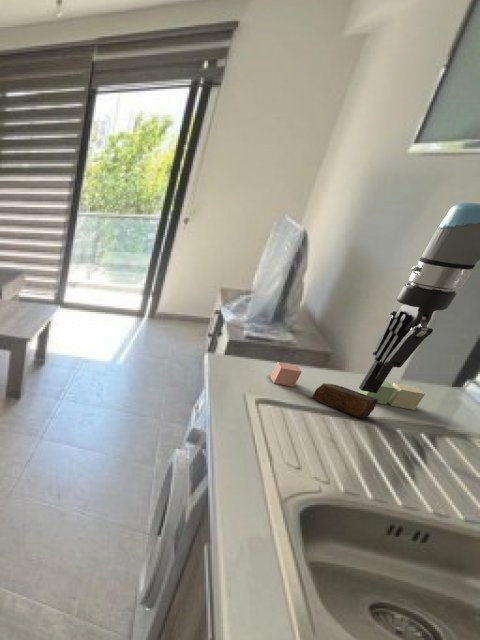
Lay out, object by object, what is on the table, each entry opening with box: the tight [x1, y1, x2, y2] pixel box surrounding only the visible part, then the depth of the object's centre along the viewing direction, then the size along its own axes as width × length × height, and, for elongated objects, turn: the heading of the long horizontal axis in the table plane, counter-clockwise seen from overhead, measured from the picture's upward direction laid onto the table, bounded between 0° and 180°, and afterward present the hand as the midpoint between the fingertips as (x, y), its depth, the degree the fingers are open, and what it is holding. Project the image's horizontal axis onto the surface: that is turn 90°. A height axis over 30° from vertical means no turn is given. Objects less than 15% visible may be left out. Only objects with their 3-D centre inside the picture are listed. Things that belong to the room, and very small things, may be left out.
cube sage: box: [357, 380, 395, 405], centre depth 122 cm, size 4×4×4 cm
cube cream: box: [387, 382, 426, 411], centre depth 120 cm, size 4×4×4 cm
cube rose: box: [270, 362, 303, 388], centre depth 129 cm, size 4×4×4 cm
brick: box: [312, 383, 378, 419], centre depth 116 cm, size 11×4×5 cm, turn 22°
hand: (367, 390), depth 107 cm, fingers closed
